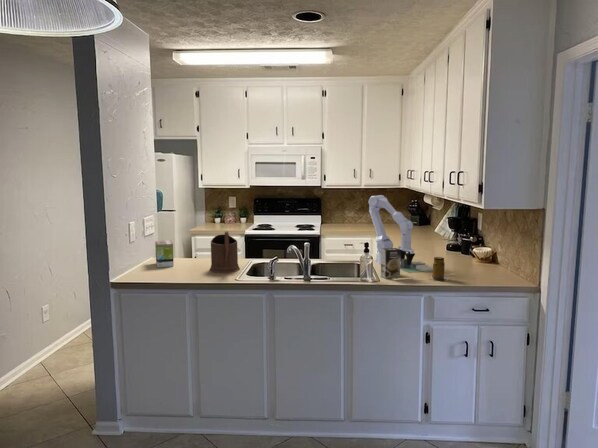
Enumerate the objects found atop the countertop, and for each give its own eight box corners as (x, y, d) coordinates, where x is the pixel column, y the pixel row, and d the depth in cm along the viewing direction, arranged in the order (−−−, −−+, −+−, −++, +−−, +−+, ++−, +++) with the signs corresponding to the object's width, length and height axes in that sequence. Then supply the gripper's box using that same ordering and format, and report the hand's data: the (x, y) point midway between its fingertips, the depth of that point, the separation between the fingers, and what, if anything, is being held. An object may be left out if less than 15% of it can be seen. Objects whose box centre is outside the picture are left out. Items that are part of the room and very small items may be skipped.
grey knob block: (409, 265, 269) (409, 261, 269) (418, 264, 271) (419, 260, 271) (415, 267, 262) (415, 263, 262) (425, 266, 264) (425, 262, 264)
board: (394, 268, 266) (394, 263, 265) (420, 266, 271) (420, 261, 271) (409, 274, 249) (409, 269, 249) (436, 272, 255) (436, 267, 254)
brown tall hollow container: (237, 265, 276) (236, 226, 273) (244, 273, 253) (243, 231, 250) (207, 267, 270) (206, 227, 267) (212, 276, 248) (210, 232, 244)
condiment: (435, 276, 244) (436, 255, 243) (450, 279, 239) (450, 258, 237) (429, 279, 239) (430, 257, 237) (444, 282, 233) (444, 260, 232)
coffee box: (385, 279, 240) (386, 250, 238) (380, 276, 246) (380, 248, 244) (400, 277, 242) (401, 249, 240) (394, 275, 248) (395, 247, 246)
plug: (400, 267, 264) (400, 258, 263) (407, 266, 265) (407, 257, 264) (403, 268, 260) (403, 259, 260) (410, 267, 262) (410, 258, 261)
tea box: (174, 266, 272) (173, 243, 271) (157, 268, 269) (156, 244, 267) (171, 261, 286) (170, 239, 284) (155, 263, 283) (154, 240, 281)
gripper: (394, 239, 266) (393, 261, 268) (406, 243, 253) (406, 266, 254) (404, 239, 268) (403, 260, 270) (417, 242, 255) (416, 265, 256)
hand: (405, 263), depth 262 cm, fingers open, 7 cm apart
